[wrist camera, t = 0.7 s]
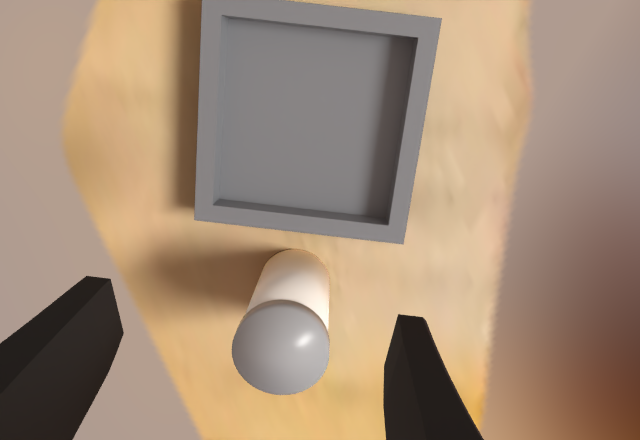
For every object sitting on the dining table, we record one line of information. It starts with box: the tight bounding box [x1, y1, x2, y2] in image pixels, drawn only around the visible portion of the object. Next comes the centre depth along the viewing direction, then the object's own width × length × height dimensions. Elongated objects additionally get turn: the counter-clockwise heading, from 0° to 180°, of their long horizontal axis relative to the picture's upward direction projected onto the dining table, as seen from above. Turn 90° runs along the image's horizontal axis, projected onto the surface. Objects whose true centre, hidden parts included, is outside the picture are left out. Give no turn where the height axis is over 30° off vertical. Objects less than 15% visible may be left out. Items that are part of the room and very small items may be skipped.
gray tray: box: [194, 0, 442, 244], centre depth 26 cm, size 12×12×2 cm
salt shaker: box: [232, 249, 330, 395], centre depth 26 cm, size 5×5×8 cm
